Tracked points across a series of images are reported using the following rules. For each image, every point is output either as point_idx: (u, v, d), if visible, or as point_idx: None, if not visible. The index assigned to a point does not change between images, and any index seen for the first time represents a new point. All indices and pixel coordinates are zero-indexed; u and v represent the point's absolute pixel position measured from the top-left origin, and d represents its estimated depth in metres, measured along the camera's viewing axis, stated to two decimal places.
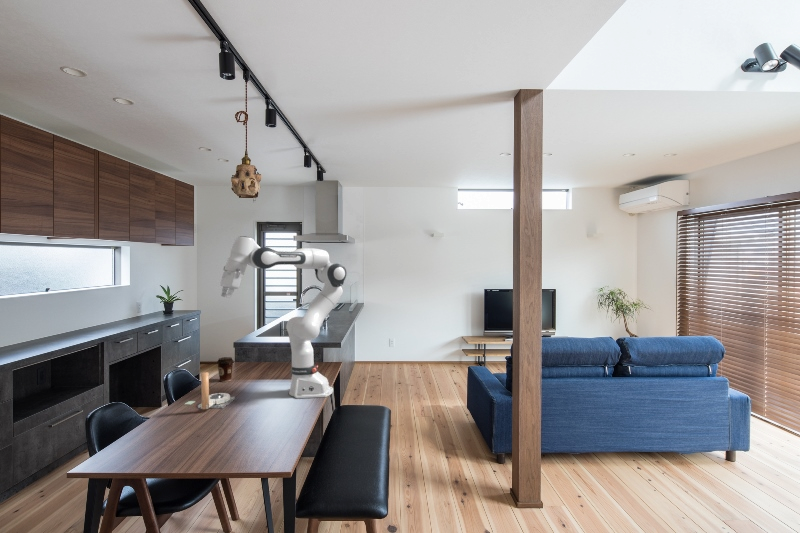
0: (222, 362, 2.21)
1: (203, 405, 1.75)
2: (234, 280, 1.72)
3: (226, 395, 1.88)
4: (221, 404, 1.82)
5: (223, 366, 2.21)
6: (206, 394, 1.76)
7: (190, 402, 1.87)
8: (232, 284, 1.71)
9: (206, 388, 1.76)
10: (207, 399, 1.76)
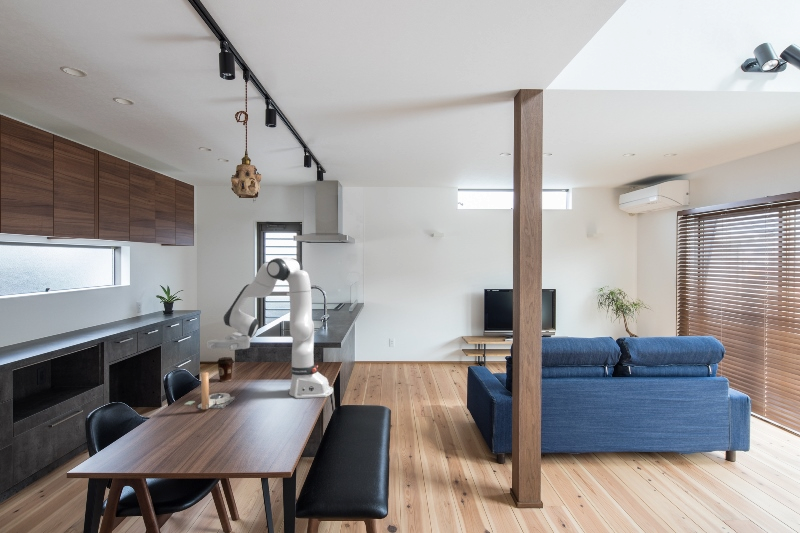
0: (222, 362, 2.21)
1: (203, 405, 1.75)
2: None
3: (226, 395, 1.88)
4: (221, 404, 1.82)
5: (223, 366, 2.21)
6: (206, 394, 1.76)
7: (190, 402, 1.87)
8: None
9: (206, 388, 1.76)
10: (207, 399, 1.76)
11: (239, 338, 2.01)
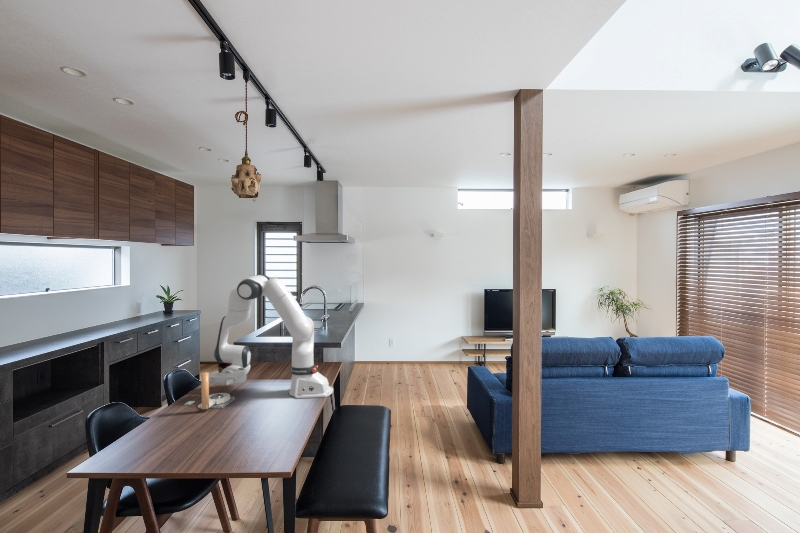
0: None
1: (203, 405, 1.75)
2: None
3: (226, 395, 1.88)
4: (221, 404, 1.82)
5: (223, 366, 2.21)
6: (206, 394, 1.76)
7: (190, 402, 1.87)
8: None
9: (206, 388, 1.76)
10: (207, 399, 1.76)
11: (235, 372, 1.97)
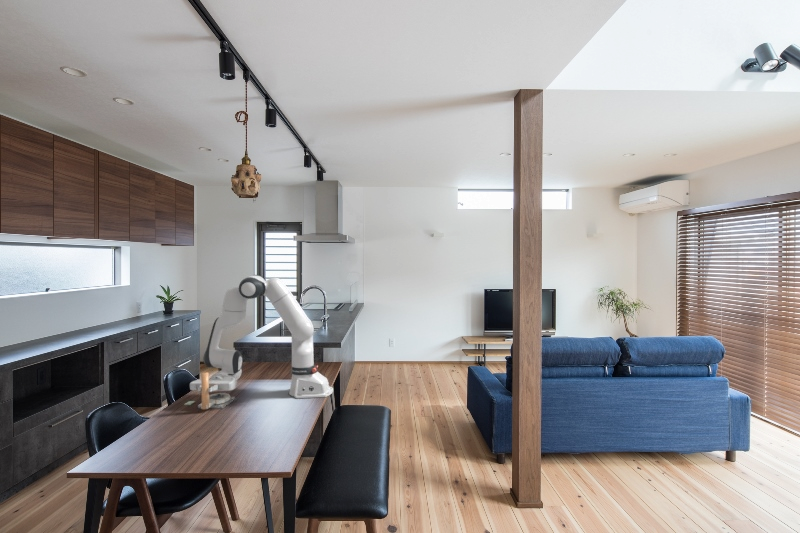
0: None
1: (203, 405, 1.75)
2: None
3: (226, 395, 1.88)
4: (221, 404, 1.82)
5: None
6: (206, 394, 1.76)
7: (190, 402, 1.87)
8: None
9: (206, 388, 1.76)
10: (207, 399, 1.76)
11: (225, 378, 1.86)
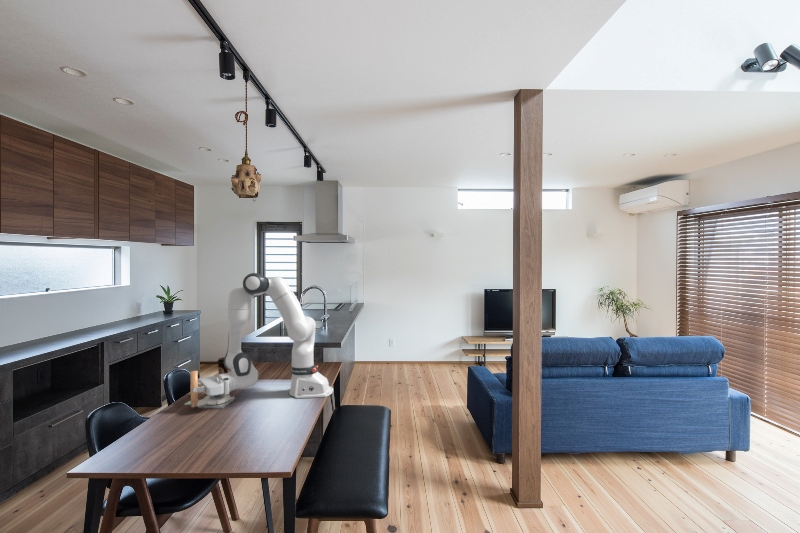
0: (222, 362, 2.21)
1: (191, 403, 1.78)
2: None
3: (224, 397, 1.85)
4: (221, 404, 1.82)
5: (223, 366, 2.21)
6: (193, 392, 1.78)
7: (190, 402, 1.87)
8: None
9: (193, 387, 1.78)
10: (194, 398, 1.78)
11: (219, 381, 1.82)
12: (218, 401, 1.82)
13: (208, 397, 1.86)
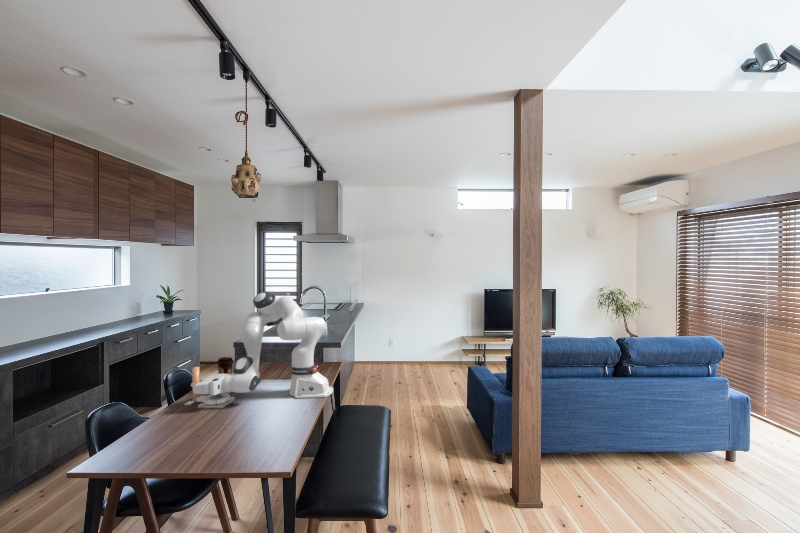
0: (222, 362, 2.21)
1: None
2: None
3: (217, 399, 1.83)
4: (221, 404, 1.82)
5: (223, 366, 2.21)
6: None
7: (190, 402, 1.87)
8: None
9: None
10: None
11: None
12: (208, 402, 1.81)
13: None
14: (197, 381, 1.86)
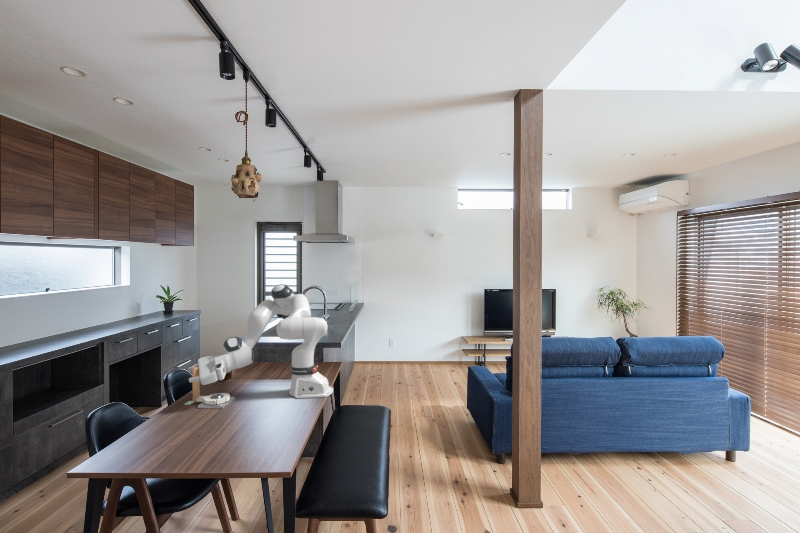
0: None
1: None
2: None
3: (217, 399, 1.83)
4: (221, 404, 1.82)
5: None
6: None
7: (190, 402, 1.87)
8: None
9: None
10: (193, 392, 1.85)
11: (212, 368, 1.83)
12: (208, 402, 1.81)
13: None
14: None
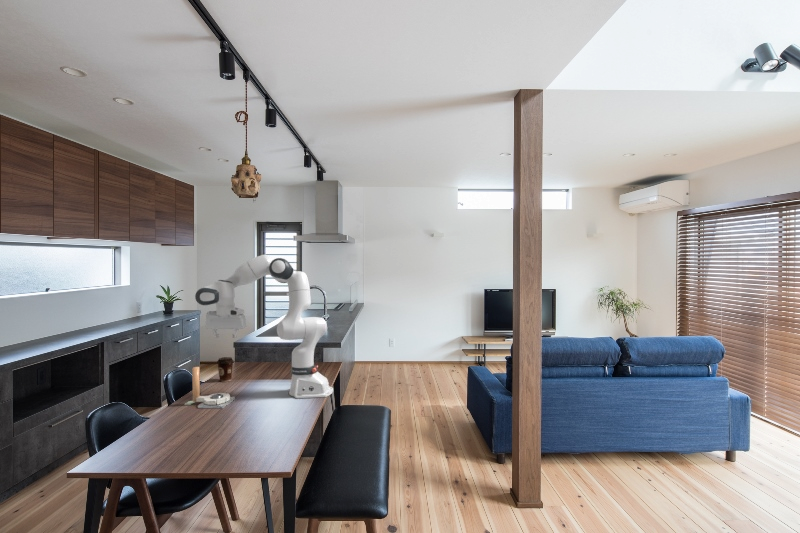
0: (222, 362, 2.21)
1: None
2: None
3: (217, 399, 1.83)
4: (221, 404, 1.82)
5: (223, 366, 2.21)
6: None
7: (190, 402, 1.87)
8: None
9: None
10: (193, 392, 1.85)
11: (231, 317, 1.99)
12: (208, 402, 1.81)
13: None
14: (197, 381, 1.86)
